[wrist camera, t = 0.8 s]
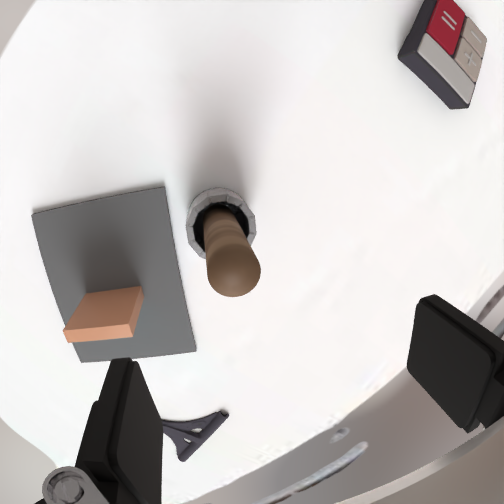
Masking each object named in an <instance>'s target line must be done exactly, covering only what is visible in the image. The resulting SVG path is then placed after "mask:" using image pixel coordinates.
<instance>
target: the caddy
mask: <svg viewBox="0 0 504 504" xmlns="http://www.w3.org/2000/svg"><path fill="white" fill-rule="evenodd" d="M214 204H223V205H226V206H228V207H229V208H230V209H231V210H232V212H233V214H234V216H235V218H236V220H237V221H238V223H239V225H240V227H241V229H242V231H243V233H244V235H245V237H246V239H247V240H248V242H249V244H250V246H251V244H252V242H253V240H254V238H255V236H256V224H255V215H254V214H253V213H252V211H251V210H250V209H249V207H248V206H247V205H246V203H245V202H244V201H243V200H242V198H241V197H240V196H239V195H238V194H236V193H234V192H233V191H231V190H228V189H225V188H212V189H208V190H206V191H204V192H202V193H200V194H199V195H198V196H197V197H196V198H195V199H194V200H193V202H192V204H191V206H190V209H189V212H188V215H187V220H186V231H187V237H188V243H189V245H190V246H191V247H192V248H193V249H194V250H195V252H196V253H197V254H198V255H199V256H200V257H201V258H204V259H206V254H205V242H204V230H203V215H204V212H205V211H206V209H207V208H208V207H210V206H212V205H214Z"/></svg>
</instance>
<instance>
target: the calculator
mask: <svg viewBox="0 0 504 504" xmlns="http://www.w3.org/2000/svg"><path fill="white" fill-rule="evenodd" d="M486 42H487V38H486V37H485V36H484V34H483V33H482V32H481V31H480V30H479V28H478V27H477V26H476V25H475V24H474V23H473V21H472V20H471V19H470V18H469V17H467V16H466V15H465V13H464V11H463V10H462V9H461V8H460V7H459V6H458V5H457V4H456V3H455V2H454V1H453V0H424V2H423V4H422V6H421V9H420V11H419V13H418V15H417V17H416V20H415V22H414V24H413V27H412V29H411V31H410V33H409V35H408V36H407V37H406V39H405V42H404V44H403V46H402V48H401V50H400V52H399V54H398V59H399V60H400V61H401V62H402V63H403V64H405V65H406V66H407V67H408V68H409V69H410V70H411V71H412V72H413V73H414V74H416V75H417V76H418V77H419V78H420V79H421V80H422V81H423V82H424V83H425V84H426V85H427V86H428V87H429V88H430V89H431V90H432V91H433V92H434V93H435V94H436V95H437V96H438V97H439V98H440V99H441V100H442V101H443V102H444V103H445V104H446V105H447V106H448V108H449V109H463V108H468V107H469V105H470V102H471V99H472V95H473V92H474V89H475V85H476V82H477V79H478V75H479V72H480V68H481V64H482V59H483V56H484V51H485V47H486Z"/></svg>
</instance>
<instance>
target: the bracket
mask: <svg viewBox="0 0 504 504" xmlns="http://www.w3.org/2000/svg"><path fill="white" fill-rule="evenodd" d="M228 417H229V414H226V415H225V416H223V415H222V414H221V412H220V411H219V412H218V413H217V412H215V413H213V414H211V415H209V416H206V417H204V418H201V419H197V420H192V421H186V422H169V421H162V424H163V433H165V434H166V435H167V436H169V437H170V438H171V439H172V441H173V442H174V444H175V445H176V448H177V455H178V459H179V460H180V461H182V462H185V461H186V460H187V459H188V458H189V457H190V456H191V455H192V454H193V453H194V452H195V451H196V450H197V449H198V448H199V447H200V446H201V445H202V444H203V443H204V442H205V441H206V440H207V439H208V438H209V437H210V436H211V435H212V434H213V433H214V432H215V431H216V430H217V429H218V427H219V426H220V425H221V424H222V423H223V422H224V421H225V420H226V419H227V418H228ZM196 428H201V429H203V430H202V431H201V432H200V433H194V432H191V431H190V430H192V429H196ZM184 438H185V439H188V440H190V441H192V442H191V443H188V442H186V441H185V440H184Z"/></svg>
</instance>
